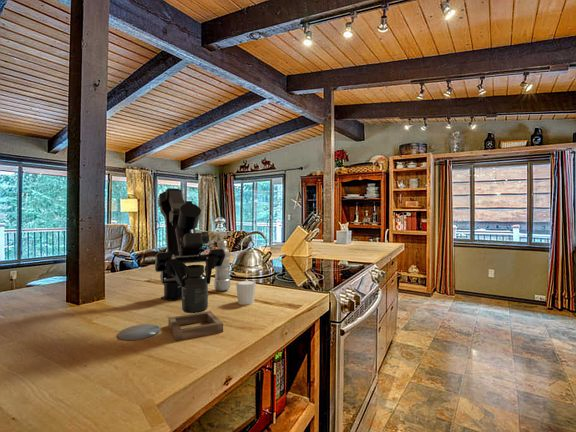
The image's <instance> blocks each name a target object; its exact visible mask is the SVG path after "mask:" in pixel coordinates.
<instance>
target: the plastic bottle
mask: <svg viewBox="0 0 576 432" xmlns="http://www.w3.org/2000/svg"><path fill="white" fill-rule="evenodd" d="M227 242H228V241H227V240H218V241H217V248H216V249H223V250H224V252H225V258H224V260H223V263H222V265H221V266H218V267H215V268H214V269H215V270H214V271H215V273H214V275H215V276H214V280H213V281H214V282H213V286H214V289H215V290H216V291H219V292H220V291H221V292H223V291H224V292H225V291H228V290H230V288H231V285H232V283H231V279H230V259H231V253H230V250H229V248H228V247H227V245H228V243H227Z"/></svg>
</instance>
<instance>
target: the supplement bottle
mask: <svg viewBox="0 0 576 432" xmlns="http://www.w3.org/2000/svg"><path fill="white" fill-rule="evenodd" d="M185 273H186V276H184V277H183V287H182V298H181V310H182V312H183V313H186V314H195V313H202V312H206V311H207V310H208V308H209V307H208V306H209V288H208V287H209V284H208V278H207V277H206V274H204V273H205V265H203V264H188V265H186V271H185Z"/></svg>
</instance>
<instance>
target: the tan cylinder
mask: <svg viewBox="0 0 576 432" xmlns="http://www.w3.org/2000/svg"><path fill="white" fill-rule="evenodd" d="M235 286H236V294H237V295H236V297H237V304H238V305H243V306H245V305H252V304H254V303H255V298H256V297H255V295H256V282H255V281H253V280H241V281H237V282H236V285H235Z"/></svg>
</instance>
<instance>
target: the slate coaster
mask: <svg viewBox="0 0 576 432" xmlns="http://www.w3.org/2000/svg"><path fill="white" fill-rule="evenodd" d="M160 330H161V328H160V326H159V325H157V324H151V323H148V324H138V325H137V324H136V325H132V326H129V327H126V328H124V329H122V330H120V331H119V332H118V334H117V336H118V337H117V338H119V339H120V340H122V341H140V340H145V339H149V338H150V337H154V336H155V335H157V334H159V333H160Z"/></svg>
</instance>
